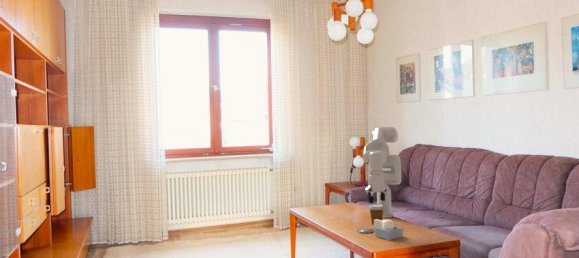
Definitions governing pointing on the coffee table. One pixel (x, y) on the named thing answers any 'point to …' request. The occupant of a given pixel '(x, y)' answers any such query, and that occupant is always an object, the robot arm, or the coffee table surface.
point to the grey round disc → (365, 230)
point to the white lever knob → (384, 224)
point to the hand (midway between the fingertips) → (376, 201)
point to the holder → (389, 233)
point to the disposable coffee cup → (376, 212)
